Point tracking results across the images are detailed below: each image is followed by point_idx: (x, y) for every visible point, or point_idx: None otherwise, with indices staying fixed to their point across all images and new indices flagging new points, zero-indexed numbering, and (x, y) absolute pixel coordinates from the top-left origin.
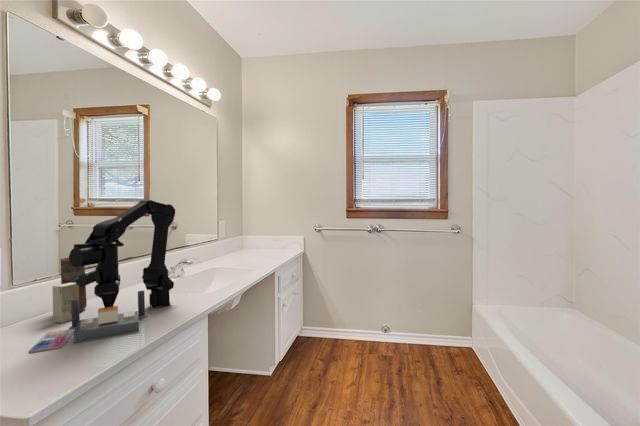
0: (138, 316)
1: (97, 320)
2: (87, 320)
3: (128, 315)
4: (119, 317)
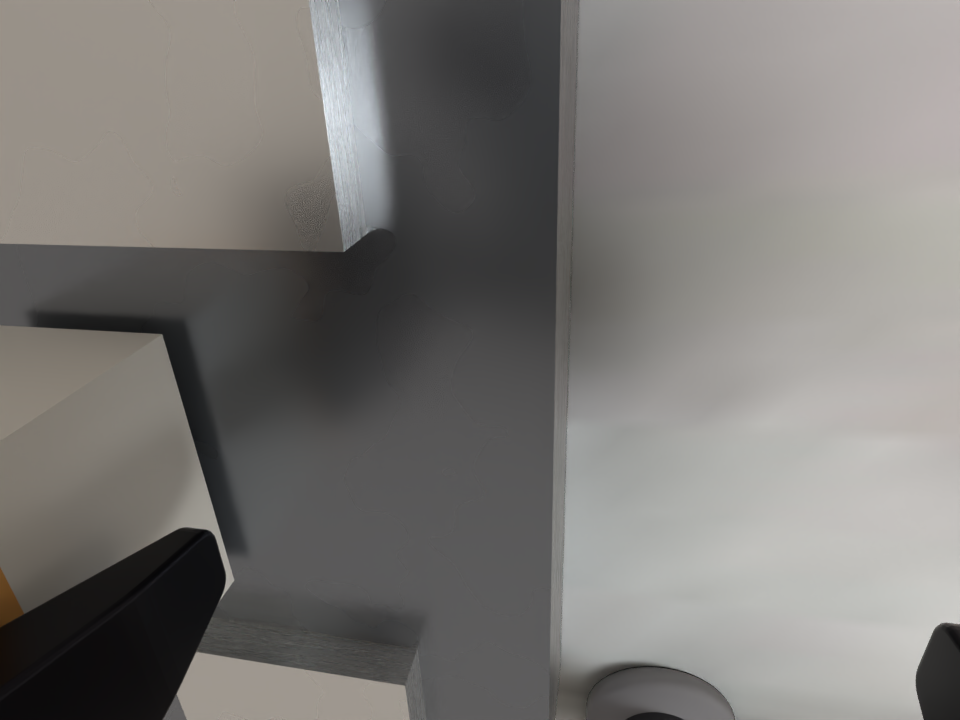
0: (633, 707)
1: (306, 298)
2: (155, 126)
3: (223, 698)
4: (328, 590)
